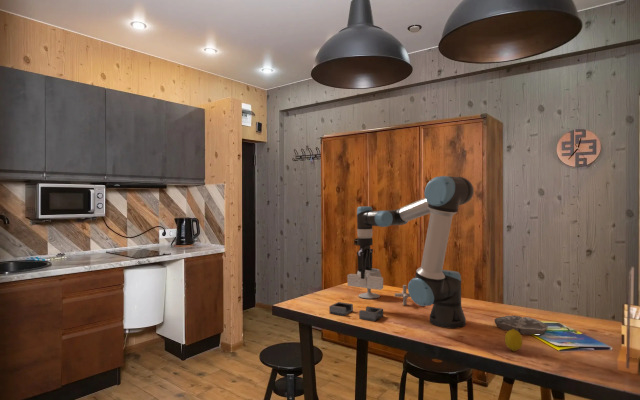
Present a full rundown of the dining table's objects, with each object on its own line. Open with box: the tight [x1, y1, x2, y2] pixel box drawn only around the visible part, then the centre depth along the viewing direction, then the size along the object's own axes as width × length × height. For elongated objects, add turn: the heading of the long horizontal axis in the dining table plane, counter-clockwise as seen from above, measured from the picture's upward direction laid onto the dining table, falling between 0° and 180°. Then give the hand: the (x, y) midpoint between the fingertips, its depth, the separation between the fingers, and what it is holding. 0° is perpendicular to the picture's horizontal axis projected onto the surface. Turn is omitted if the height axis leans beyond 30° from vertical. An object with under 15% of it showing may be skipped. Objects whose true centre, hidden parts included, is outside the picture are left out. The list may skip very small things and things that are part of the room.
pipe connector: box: [394, 284, 411, 306], centre depth 196 cm, size 10×10×10 cm
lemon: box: [504, 329, 523, 352], centre depth 135 cm, size 6×6×8 cm
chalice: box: [356, 267, 382, 300], centre depth 214 cm, size 14×14×15 cm
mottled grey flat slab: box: [494, 315, 549, 336], centre depth 159 cm, size 20×17×3 cm
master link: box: [346, 273, 384, 291], centre depth 189 cm, size 18×4×6 cm, turn 56°
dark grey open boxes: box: [329, 301, 384, 322], centre depth 180 cm, size 24×9×4 cm, turn 58°
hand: (365, 284), depth 189 cm, fingers closed on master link, 3 cm apart
